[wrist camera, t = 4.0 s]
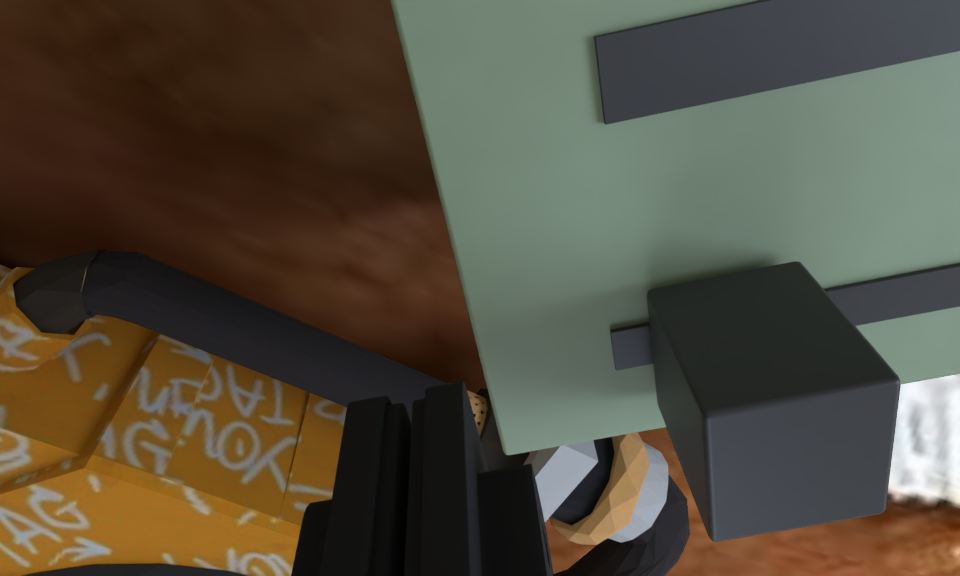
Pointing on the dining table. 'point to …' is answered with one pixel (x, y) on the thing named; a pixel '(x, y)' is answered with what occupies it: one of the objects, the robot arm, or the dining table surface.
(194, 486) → the device
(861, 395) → the slider
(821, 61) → the toaster
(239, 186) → the dining table surface
